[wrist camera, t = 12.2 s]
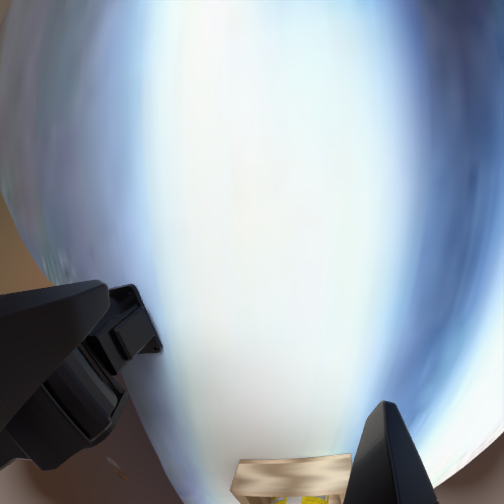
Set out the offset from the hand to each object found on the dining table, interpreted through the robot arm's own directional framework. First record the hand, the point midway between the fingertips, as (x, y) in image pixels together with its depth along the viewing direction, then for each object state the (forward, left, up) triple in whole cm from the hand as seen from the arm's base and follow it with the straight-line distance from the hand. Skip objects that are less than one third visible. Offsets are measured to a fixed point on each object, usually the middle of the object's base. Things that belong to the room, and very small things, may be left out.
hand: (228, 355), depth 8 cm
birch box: (-5, -30, -13) cm, 32 cm away
